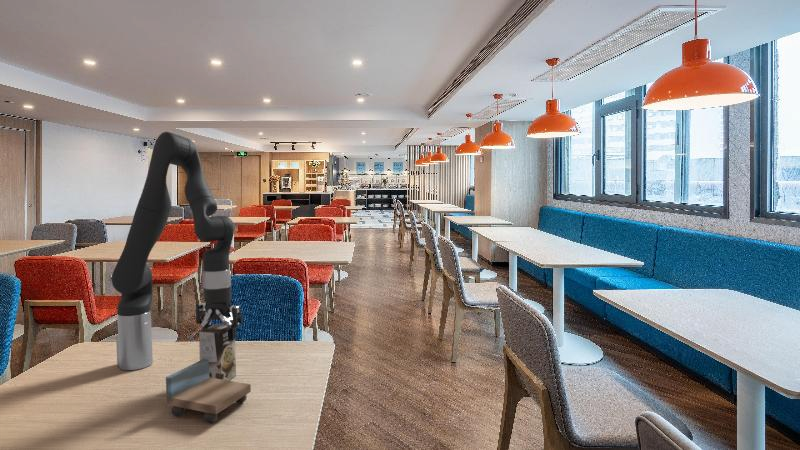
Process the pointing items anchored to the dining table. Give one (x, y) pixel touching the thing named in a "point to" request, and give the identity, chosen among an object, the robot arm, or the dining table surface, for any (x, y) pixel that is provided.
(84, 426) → the dining table surface
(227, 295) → the robot arm
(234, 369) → the coffee box
